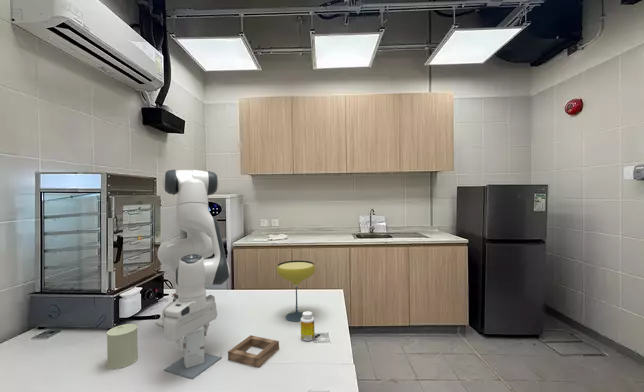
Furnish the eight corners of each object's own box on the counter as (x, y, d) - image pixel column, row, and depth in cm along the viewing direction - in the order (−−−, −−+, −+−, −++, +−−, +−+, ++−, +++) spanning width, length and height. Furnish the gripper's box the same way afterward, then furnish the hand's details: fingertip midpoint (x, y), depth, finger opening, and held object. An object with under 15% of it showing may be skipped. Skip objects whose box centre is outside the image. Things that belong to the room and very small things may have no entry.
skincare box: (186, 369, 99) (185, 333, 99) (183, 363, 103) (183, 328, 102) (205, 363, 102) (204, 328, 102) (202, 357, 106) (201, 323, 106)
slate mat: (163, 370, 99) (163, 369, 99) (194, 351, 111) (194, 350, 111) (192, 379, 94) (192, 378, 94) (221, 358, 106) (221, 357, 106)
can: (132, 351, 111) (132, 320, 111) (142, 360, 105) (141, 326, 105) (103, 363, 104) (102, 329, 104) (111, 372, 98) (111, 336, 98)
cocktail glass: (291, 329, 128) (290, 271, 128) (270, 316, 142) (269, 264, 142) (323, 317, 139) (322, 264, 139) (301, 306, 153) (300, 258, 153)
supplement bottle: (314, 341, 117) (314, 315, 117) (300, 342, 117) (300, 316, 117) (314, 334, 122) (313, 310, 122) (300, 335, 122) (300, 310, 122)
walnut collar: (228, 360, 105) (227, 351, 105) (250, 342, 117) (250, 335, 117) (258, 367, 100) (258, 358, 100) (278, 349, 111) (278, 341, 111)
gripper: (207, 292, 113) (208, 328, 113) (159, 312, 94) (160, 355, 94) (220, 294, 111) (221, 330, 111) (174, 314, 92) (175, 359, 92)
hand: (193, 342), depth 102 cm, fingers open, 8 cm apart
